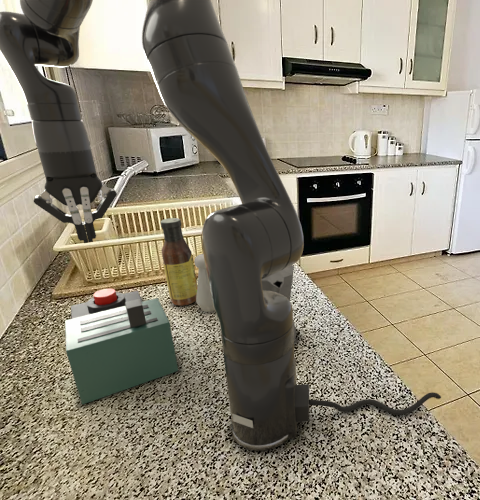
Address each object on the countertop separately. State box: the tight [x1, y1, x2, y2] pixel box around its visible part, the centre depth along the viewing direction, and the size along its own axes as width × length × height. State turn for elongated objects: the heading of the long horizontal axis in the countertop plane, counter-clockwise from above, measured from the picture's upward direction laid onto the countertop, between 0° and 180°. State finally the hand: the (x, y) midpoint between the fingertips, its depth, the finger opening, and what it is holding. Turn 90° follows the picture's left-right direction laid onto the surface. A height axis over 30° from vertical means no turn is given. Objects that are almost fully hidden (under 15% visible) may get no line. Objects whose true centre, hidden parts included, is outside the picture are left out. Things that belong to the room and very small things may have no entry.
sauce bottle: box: [160, 217, 198, 307], centre depth 85 cm, size 6×6×20 cm
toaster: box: [64, 297, 179, 405], centre depth 63 cm, size 14×10×10 cm
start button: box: [93, 288, 117, 305], centre depth 80 cm, size 4×4×2 cm
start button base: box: [70, 290, 143, 319], centre depth 81 cm, size 13×10×4 cm
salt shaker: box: [194, 253, 215, 313], centre depth 83 cm, size 6×6×13 cm
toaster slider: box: [125, 299, 146, 328], centre depth 60 cm, size 2×3×4 cm
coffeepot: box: [262, 265, 297, 343], centre depth 73 cm, size 15×9×18 cm, turn 26°
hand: (88, 241), depth 71 cm, fingers closed
